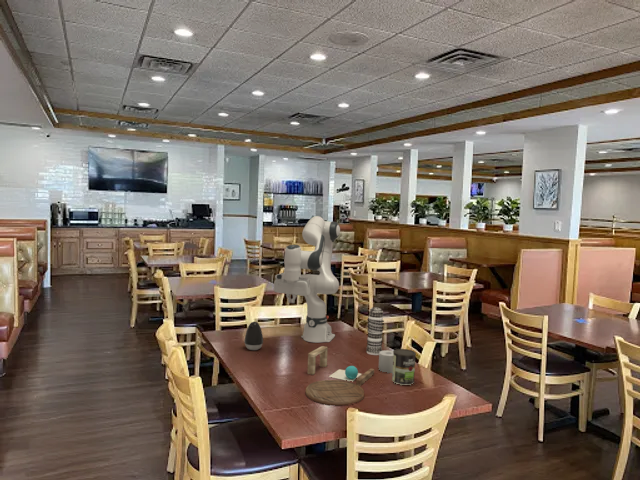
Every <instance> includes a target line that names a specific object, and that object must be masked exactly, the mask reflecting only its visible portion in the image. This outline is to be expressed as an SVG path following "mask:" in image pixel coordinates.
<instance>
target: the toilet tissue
mask: <svg viewBox="0 0 640 480" xmlns="http://www.w3.org/2000/svg"><path fill="white" fill-rule="evenodd" d="M393 351H394V350H387V349H385V350H382V351H380V352H379V355H378V368H379V369H378V371H379V370H380V371H379V372H381V371H382V372H381V373H383V372H387V373H386V374H389V373H393V354H394V353H393Z"/></svg>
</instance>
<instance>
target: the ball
mask: <svg viewBox="0 0 640 480" xmlns="http://www.w3.org/2000/svg"><path fill="white" fill-rule="evenodd" d="M344 370H345V375H346V376H347V378H349V379H354V378H356V377H357V375H358V373H359V370H358V368H357V367H356V366H354V365H349V366H347V367H346V368H345V369H344Z"/></svg>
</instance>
